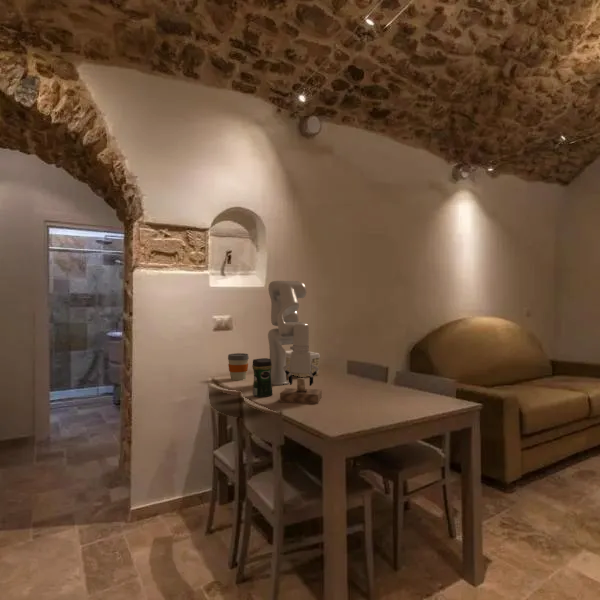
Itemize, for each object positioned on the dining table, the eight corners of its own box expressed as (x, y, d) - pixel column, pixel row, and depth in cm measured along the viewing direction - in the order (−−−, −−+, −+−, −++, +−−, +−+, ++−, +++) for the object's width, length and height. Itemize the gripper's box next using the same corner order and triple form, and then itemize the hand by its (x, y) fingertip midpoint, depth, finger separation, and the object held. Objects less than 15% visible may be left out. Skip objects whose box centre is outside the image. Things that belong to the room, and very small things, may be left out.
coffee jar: (267, 393, 222) (267, 356, 222) (274, 395, 215) (274, 358, 215) (250, 395, 217) (250, 358, 217) (256, 398, 210) (256, 360, 210)
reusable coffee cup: (224, 380, 257) (224, 355, 257) (232, 377, 270) (232, 353, 270) (244, 381, 255) (244, 356, 255) (251, 377, 267) (251, 353, 267)
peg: (296, 400, 204) (296, 379, 204) (297, 398, 208) (297, 377, 208) (304, 400, 204) (304, 379, 204) (306, 398, 208) (306, 378, 208)
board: (280, 401, 202) (280, 393, 202) (285, 396, 214) (285, 388, 214) (318, 403, 198) (318, 394, 198) (321, 397, 210) (321, 389, 210)
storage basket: (321, 376, 273) (321, 352, 273) (300, 378, 264) (300, 354, 264) (299, 371, 292) (299, 349, 293) (279, 373, 283) (279, 351, 283)
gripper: (281, 349, 204) (281, 385, 204) (317, 350, 201) (317, 387, 201) (285, 347, 212) (285, 382, 212) (319, 348, 208) (319, 383, 209)
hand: (300, 384), depth 207 cm, fingers open, 9 cm apart
